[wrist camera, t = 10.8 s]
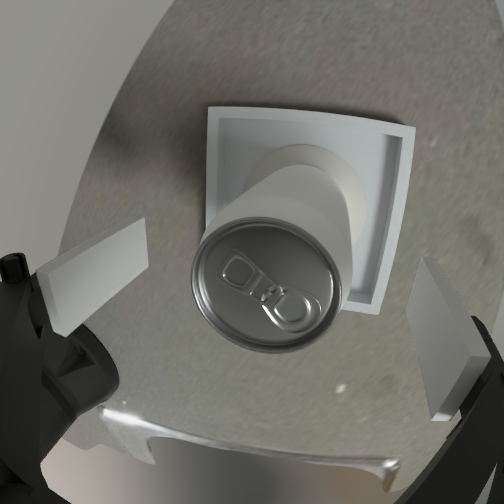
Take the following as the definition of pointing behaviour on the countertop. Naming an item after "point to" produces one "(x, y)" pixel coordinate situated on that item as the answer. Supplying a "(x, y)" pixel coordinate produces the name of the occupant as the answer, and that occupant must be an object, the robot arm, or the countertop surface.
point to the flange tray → (329, 160)
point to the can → (276, 262)
